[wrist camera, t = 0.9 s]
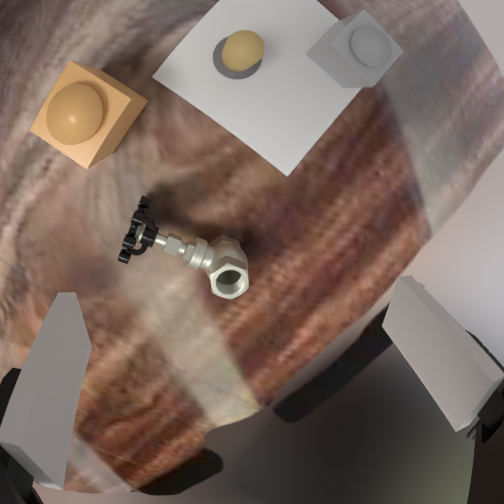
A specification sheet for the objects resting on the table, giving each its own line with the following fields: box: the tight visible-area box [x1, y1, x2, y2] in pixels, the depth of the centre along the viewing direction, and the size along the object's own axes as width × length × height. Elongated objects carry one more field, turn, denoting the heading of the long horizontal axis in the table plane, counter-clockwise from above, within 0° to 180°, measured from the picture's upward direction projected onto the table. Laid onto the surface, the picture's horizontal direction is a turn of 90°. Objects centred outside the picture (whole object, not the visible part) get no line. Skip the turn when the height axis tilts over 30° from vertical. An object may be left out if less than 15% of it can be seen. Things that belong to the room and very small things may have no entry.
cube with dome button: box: [306, 9, 404, 88], centre depth 23 cm, size 5×5×7 cm
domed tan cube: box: [30, 61, 148, 169], centre depth 22 cm, size 6×6×9 cm
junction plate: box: [152, 0, 363, 176], centre depth 24 cm, size 16×16×6 cm
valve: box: [118, 196, 249, 299], centre depth 30 cm, size 7×7×12 cm
